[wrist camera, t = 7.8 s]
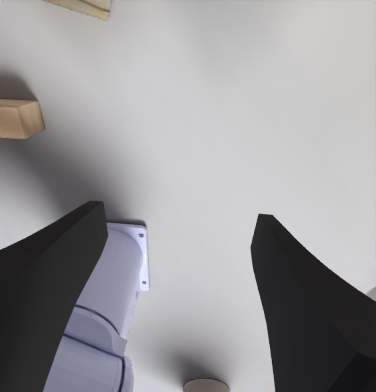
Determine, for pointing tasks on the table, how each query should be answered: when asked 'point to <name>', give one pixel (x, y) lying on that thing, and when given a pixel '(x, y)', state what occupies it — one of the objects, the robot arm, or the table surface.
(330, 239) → the table surface
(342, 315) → the robot arm
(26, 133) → the oak rail
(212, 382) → the thermos bottle
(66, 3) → the skincare box
